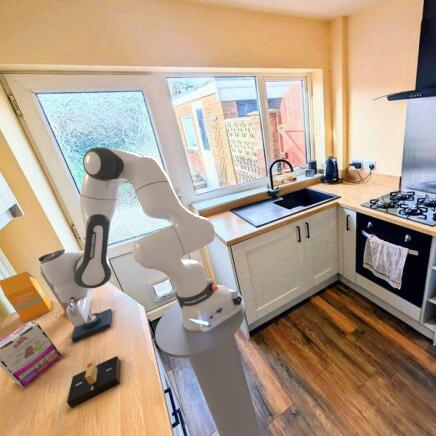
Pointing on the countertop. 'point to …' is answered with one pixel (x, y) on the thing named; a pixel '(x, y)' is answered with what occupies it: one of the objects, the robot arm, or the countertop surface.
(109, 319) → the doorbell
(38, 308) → the orange juice
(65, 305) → the thermos bottle
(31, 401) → the countertop surface
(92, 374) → the lock knob
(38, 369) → the candy bar box
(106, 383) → the plate
